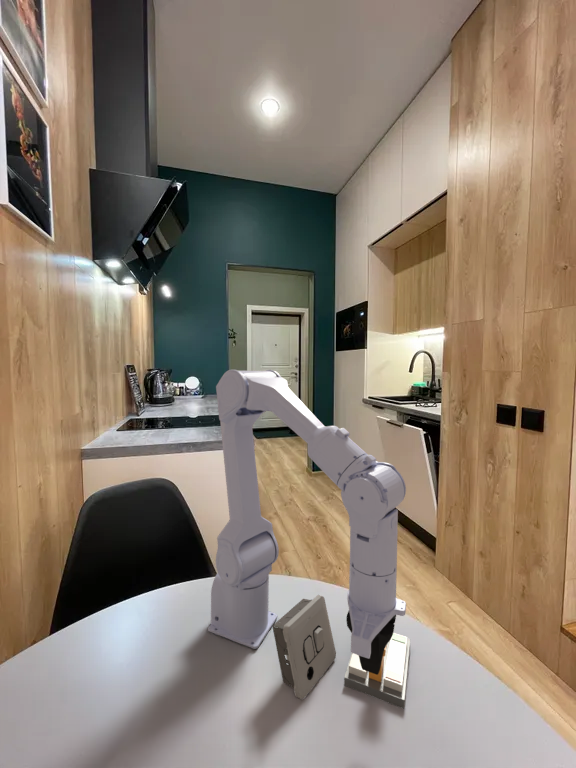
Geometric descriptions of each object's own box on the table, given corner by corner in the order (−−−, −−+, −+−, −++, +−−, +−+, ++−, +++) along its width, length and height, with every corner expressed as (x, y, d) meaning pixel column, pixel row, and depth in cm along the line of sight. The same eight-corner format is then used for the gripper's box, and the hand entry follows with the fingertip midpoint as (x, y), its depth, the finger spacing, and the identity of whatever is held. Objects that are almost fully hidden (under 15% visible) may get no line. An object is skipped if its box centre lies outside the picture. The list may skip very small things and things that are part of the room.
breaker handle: (365, 677, 48) (365, 643, 47) (368, 661, 50) (369, 629, 50) (384, 684, 47) (385, 649, 46) (387, 668, 49) (387, 634, 49)
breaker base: (344, 685, 48) (344, 669, 48) (360, 630, 58) (360, 617, 58) (404, 708, 45) (404, 692, 45) (410, 646, 55) (410, 632, 55)
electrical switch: (301, 705, 45) (296, 634, 45) (271, 685, 48) (267, 619, 48) (337, 658, 52) (333, 597, 53) (309, 644, 56) (306, 587, 56)
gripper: (400, 609, 34) (397, 738, 35) (410, 542, 48) (408, 636, 48) (332, 590, 37) (331, 710, 38) (360, 532, 50) (358, 621, 51)
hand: (370, 667), depth 43 cm, fingers closed
